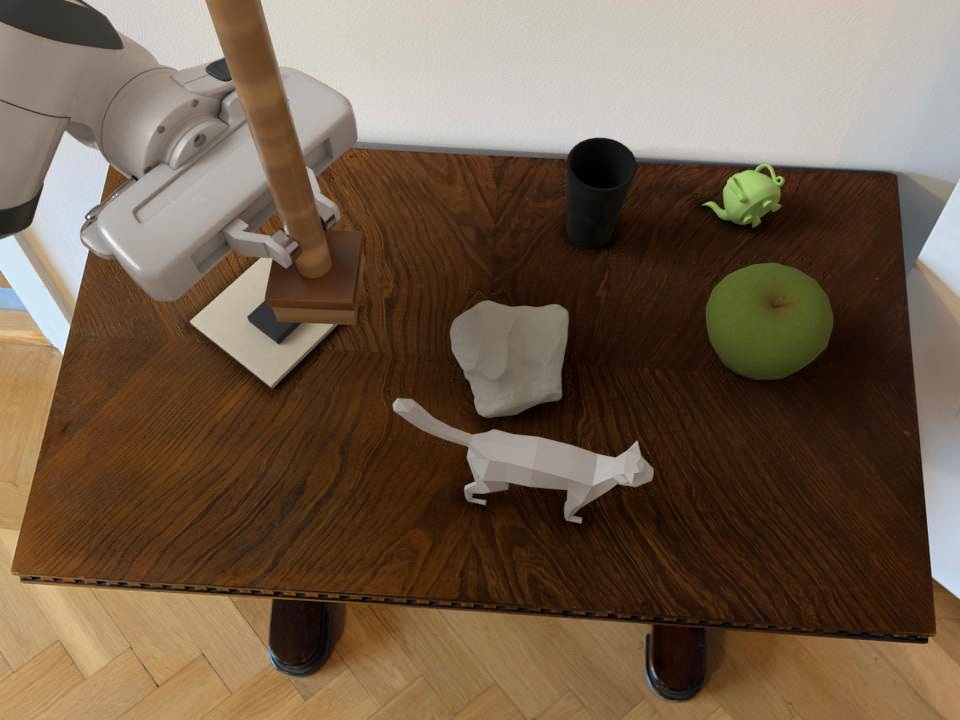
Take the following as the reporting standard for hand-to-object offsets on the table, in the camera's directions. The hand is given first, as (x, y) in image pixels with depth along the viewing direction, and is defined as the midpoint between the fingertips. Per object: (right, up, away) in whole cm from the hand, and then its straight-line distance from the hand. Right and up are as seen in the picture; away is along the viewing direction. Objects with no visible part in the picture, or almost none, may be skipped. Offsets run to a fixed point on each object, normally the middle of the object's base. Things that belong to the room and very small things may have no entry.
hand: (313, 237), depth 59 cm
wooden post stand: (-1, -3, +7) cm, 8 cm away
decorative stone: (+15, -10, +20) cm, 27 cm away
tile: (-8, -4, +23) cm, 25 cm away
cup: (+23, +5, +28) cm, 36 cm away
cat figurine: (+15, -20, +15) cm, 29 cm away
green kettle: (+38, +6, +28) cm, 48 cm away
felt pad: (-8, -5, +22) cm, 24 cm away
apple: (+37, -8, +21) cm, 43 cm away
